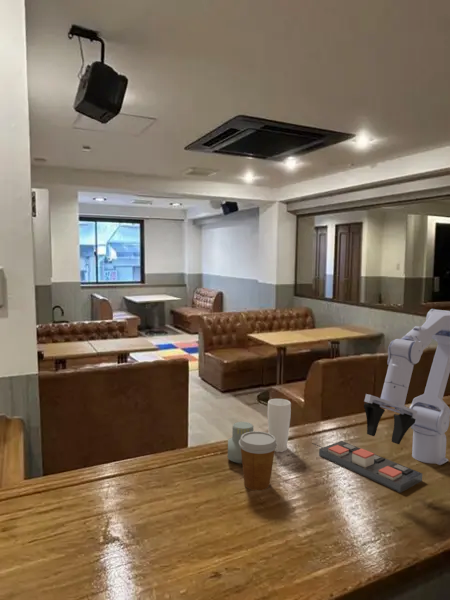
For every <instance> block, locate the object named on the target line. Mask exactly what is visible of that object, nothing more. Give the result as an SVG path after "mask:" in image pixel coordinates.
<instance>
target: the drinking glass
mask: <svg viewBox="0 0 450 600" xmlns="http://www.w3.org/2000/svg"><path fill="white" fill-rule="evenodd" d="M291 407H292V403H291V401H290V400H288V399H284V398H271V399H269V400H268V401H267V431H268V432H267V433H269V434H271V435H273V436H274V437H275V440H276V442H277V446H276V449H275V452H277V453H280V452H281V453H282V452H286V451H287V450H288V442H289V434H290V433H289V432H290V426H291V425H290V424H291V414H292V413H291V412H292V409H291Z"/></svg>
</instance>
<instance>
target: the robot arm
mask: <svg viewBox="0 0 450 600" xmlns="http://www.w3.org/2000/svg"><path fill="white" fill-rule="evenodd" d="M425 316H426V318H425V321H424V323H423V324H422V325H420V326H418V325H415V326H414V327H413V328H412V329H410V330H409V331H408V332H407V333H406V334H404V335H403V336H402V337H401V338H395V339H393V340H391V341H390V343H389V345H388V347H387V365H388V366H387V370H386V375H385V378H384V383H383V386H382V390H381V394H380V397H378V396H375V395H372V394H367V393H365V397H364V400H363V402H364V404H363V408H364V411H365V416H366V417H365V418H366V434H367V435H369V436H372V437H375V435H376V433H377V430H378V426H379V424H380V421H381V418H382V416H383V414H384V413H385V411H386V410H388V411H391V412H395V414H393V420H394V421H393V430H392V436H391V442H392V443H394V444H397V445H400V444H401V441H402V440H403V439H404V436H405V435H406V433H407V431H408V430H409V429H412V431H413V433H412V449H411V451H412V452H411V453H412V454H411V457H412V458H413V459H415V460H417V461H418V462H421V463H424V464H437V465H438V466H441V465H443V464H445V463H447V462H449V459H448V458H446V454H447V453H446V451H447V436H446V434H445V433H446V432H447V431H448V429H449V426H450V407H449V406H448V404H447V403H446V402H445V401H444V400H443V399H444V395H445V391H446V387H447V383H448V381H449V380H448V379H449V376H450V310H444V309H443V310H442V309H435V308H431V309H429V311H428V312H427V313H426V315H425ZM432 341H435V342H436V343H437V346H436V350H435V353H434V355H433V360H432V363H431V367H430V371H429V374H428V377H427V381H426V386H425V388H424V393H423V394H420V395H418V396H416V397H414V398H413V399H412V402H411V405H410V406H409V407H408V406H406V405H405V404H406V399H407V396H408V395H407V394H408V391H409V386H410V382H411V378H412V373H413V370H414V366H415V365H416V364H418V363H419V362H420V360H421V356H422V355H423V353H424V350H425V349H426V348H427V347H428V346H429V345H430V344H431V343H432ZM385 409H386V410H385ZM396 413H397V414H396Z"/></svg>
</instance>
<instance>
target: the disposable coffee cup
mask: <svg viewBox="0 0 450 600" xmlns="http://www.w3.org/2000/svg"><path fill="white" fill-rule="evenodd" d="M239 445H240V448H241V456H242V464H241V465H242V474H243V481H244V482H243V483H244V487H246V488H247V489H248V490H252V491H264V490H266V489H268V488H270V482H271V478H272V471H273V463H274V457H275V452H276V451H275V449H276V446H277V442H276V440H275V437H274V436H273V435H271V434H269V433H268V432H265V431H257V430H255V431H254V430H253V432H247V433H244V434H242V436H241V438H240V440H239Z"/></svg>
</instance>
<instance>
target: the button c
mask: <svg viewBox="0 0 450 600" xmlns="http://www.w3.org/2000/svg"><path fill="white" fill-rule="evenodd" d="M378 475H381V476H383V477H385V478H387V479H390V480H392V481H394V480H396V479H398V478H400V477H402V472H401V471H399V470H396V469H394V468H392V467H389V466H386V467H384V468H382V469H380V470H379V473H378Z"/></svg>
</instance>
